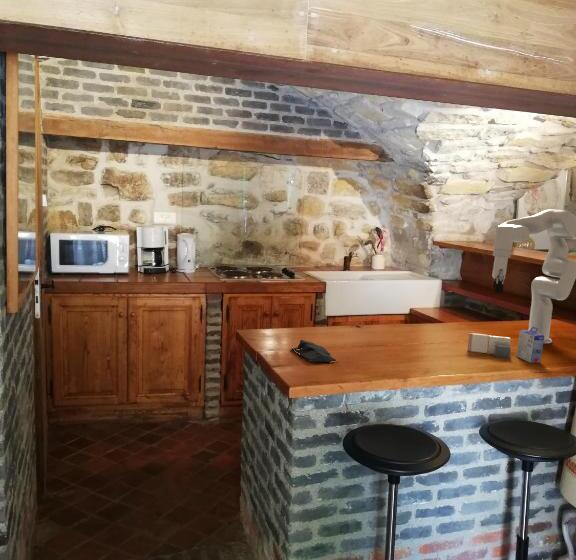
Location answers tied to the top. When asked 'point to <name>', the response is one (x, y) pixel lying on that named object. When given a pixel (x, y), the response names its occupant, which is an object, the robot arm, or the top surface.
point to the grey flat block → (477, 342)
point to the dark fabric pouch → (313, 352)
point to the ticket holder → (499, 346)
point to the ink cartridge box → (530, 345)
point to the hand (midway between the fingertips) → (497, 290)
